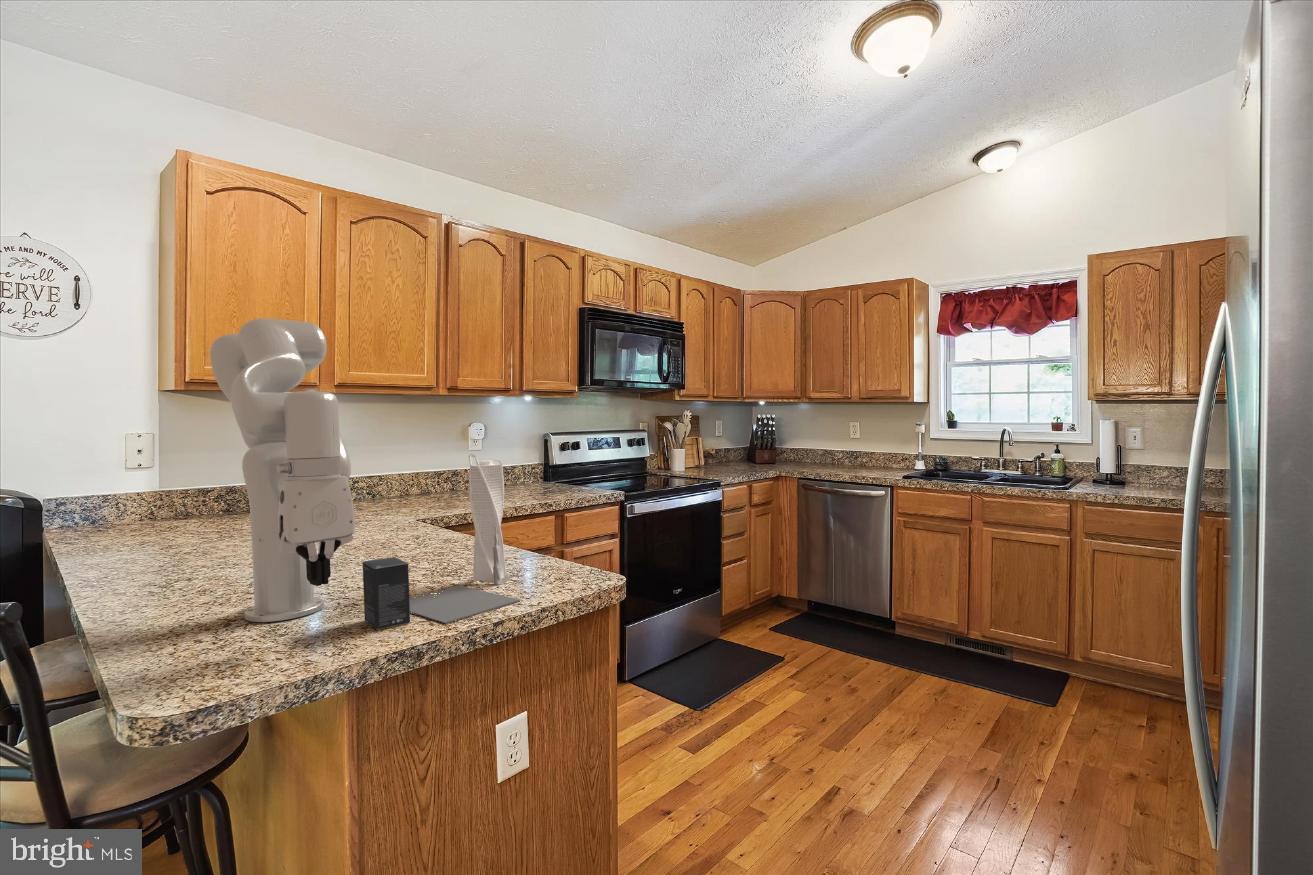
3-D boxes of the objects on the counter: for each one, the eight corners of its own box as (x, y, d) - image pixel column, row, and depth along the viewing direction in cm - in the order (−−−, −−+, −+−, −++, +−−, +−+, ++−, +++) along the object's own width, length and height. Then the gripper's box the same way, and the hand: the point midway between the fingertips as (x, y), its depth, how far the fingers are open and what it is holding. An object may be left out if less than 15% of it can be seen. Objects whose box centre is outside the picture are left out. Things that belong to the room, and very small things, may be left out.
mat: (385, 605, 117) (385, 603, 117) (459, 586, 129) (459, 585, 129) (445, 624, 104) (445, 622, 104) (520, 601, 117) (520, 599, 117)
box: (411, 623, 105) (408, 562, 105) (376, 631, 102) (373, 568, 102) (397, 613, 111) (395, 555, 111) (363, 620, 108) (361, 560, 108)
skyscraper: (462, 585, 131) (458, 455, 130) (479, 576, 139) (475, 453, 138) (500, 586, 129) (495, 454, 129) (515, 576, 137) (510, 452, 137)
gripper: (271, 473, 89) (276, 598, 90) (372, 466, 101) (376, 577, 101) (252, 472, 94) (257, 591, 94) (350, 465, 106) (355, 571, 106)
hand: (319, 583), depth 98 cm, fingers closed
